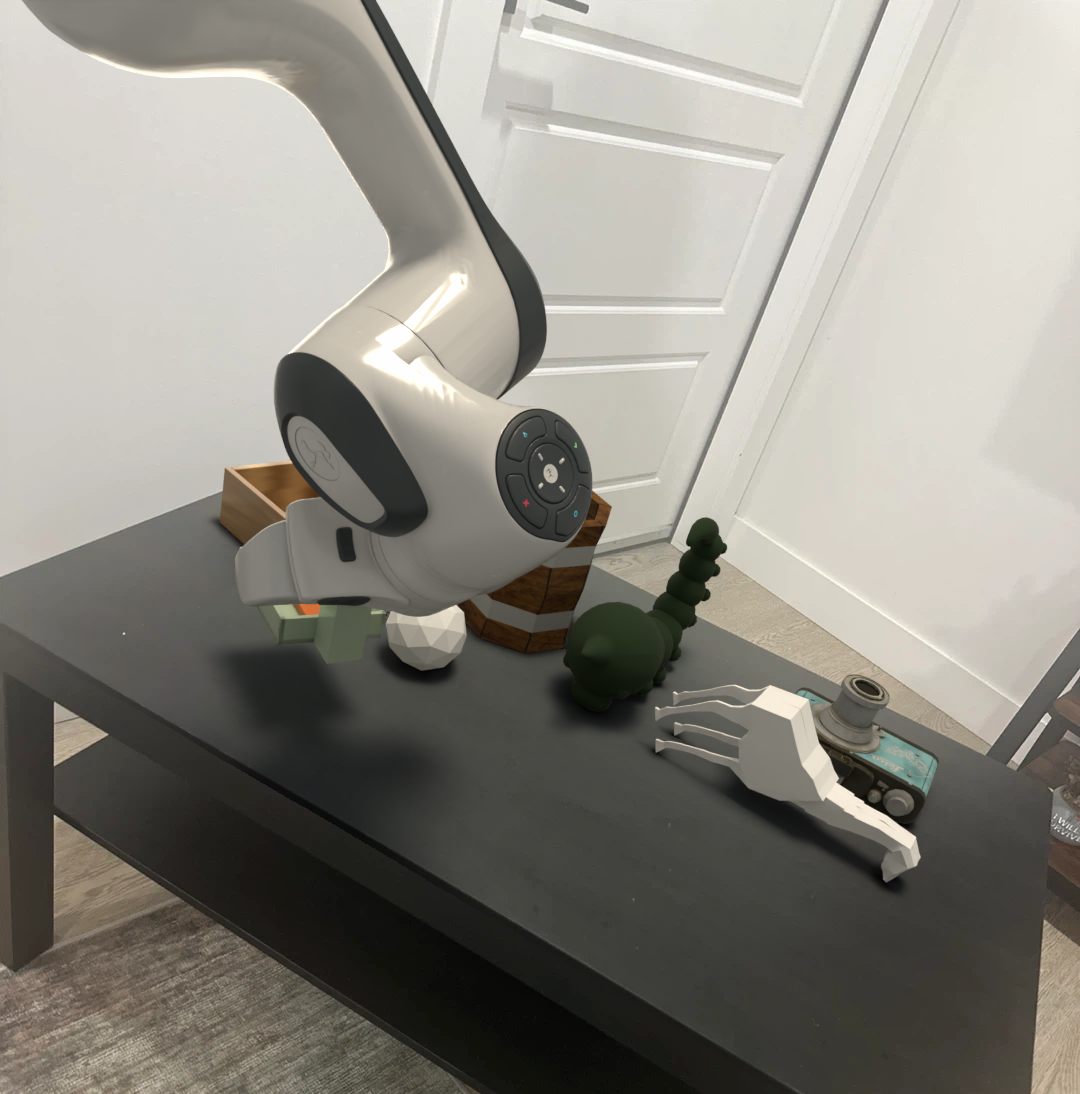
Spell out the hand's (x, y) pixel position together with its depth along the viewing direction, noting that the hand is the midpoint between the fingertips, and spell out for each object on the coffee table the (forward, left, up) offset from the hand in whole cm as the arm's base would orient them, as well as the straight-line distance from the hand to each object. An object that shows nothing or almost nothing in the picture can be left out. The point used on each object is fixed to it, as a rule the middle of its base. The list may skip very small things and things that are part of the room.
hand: (344, 591), depth 77 cm
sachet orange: (+1, +4, -5) cm, 6 cm away
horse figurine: (+32, -29, -14) cm, 45 cm away
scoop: (+1, +5, -5) cm, 7 cm away
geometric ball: (+15, +4, -14) cm, 21 cm away
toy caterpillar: (+33, -8, -14) cm, 37 cm away
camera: (+45, -30, -14) cm, 56 cm away
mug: (+30, +9, -14) cm, 34 cm away
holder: (+17, +28, -14) cm, 35 cm away
